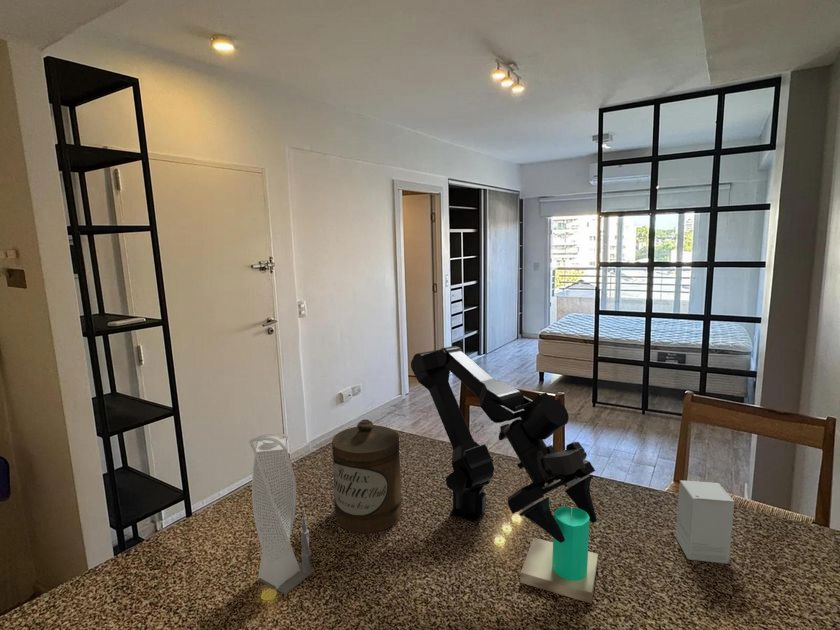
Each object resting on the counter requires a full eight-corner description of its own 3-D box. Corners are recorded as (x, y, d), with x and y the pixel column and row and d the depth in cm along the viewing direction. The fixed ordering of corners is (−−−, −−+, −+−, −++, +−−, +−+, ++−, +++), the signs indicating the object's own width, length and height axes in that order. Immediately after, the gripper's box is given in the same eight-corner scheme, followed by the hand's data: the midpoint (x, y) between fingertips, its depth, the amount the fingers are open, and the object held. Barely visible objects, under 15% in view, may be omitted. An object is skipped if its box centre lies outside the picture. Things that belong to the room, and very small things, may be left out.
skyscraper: (278, 600, 81) (268, 444, 77) (247, 582, 85) (236, 434, 81) (314, 571, 88) (306, 427, 84) (283, 556, 92) (275, 419, 88)
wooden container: (322, 525, 103) (317, 428, 99) (356, 491, 116) (353, 405, 113) (383, 540, 97) (381, 438, 94) (412, 503, 111) (410, 413, 107)
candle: (592, 568, 85) (595, 506, 83) (578, 586, 81) (581, 521, 79) (561, 553, 89) (563, 494, 87) (546, 570, 85) (548, 507, 83)
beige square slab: (520, 582, 85) (520, 572, 84) (533, 546, 94) (533, 537, 94) (591, 603, 80) (592, 592, 79) (597, 563, 89) (597, 553, 89)
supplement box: (730, 564, 89) (736, 502, 87) (686, 560, 90) (691, 498, 88) (714, 540, 96) (719, 482, 94) (674, 536, 97) (678, 478, 95)
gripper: (521, 444, 79) (576, 538, 72) (588, 418, 90) (641, 497, 83) (487, 471, 86) (533, 558, 79) (552, 444, 97) (598, 518, 90)
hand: (579, 531), depth 83 cm, fingers open, 9 cm apart
